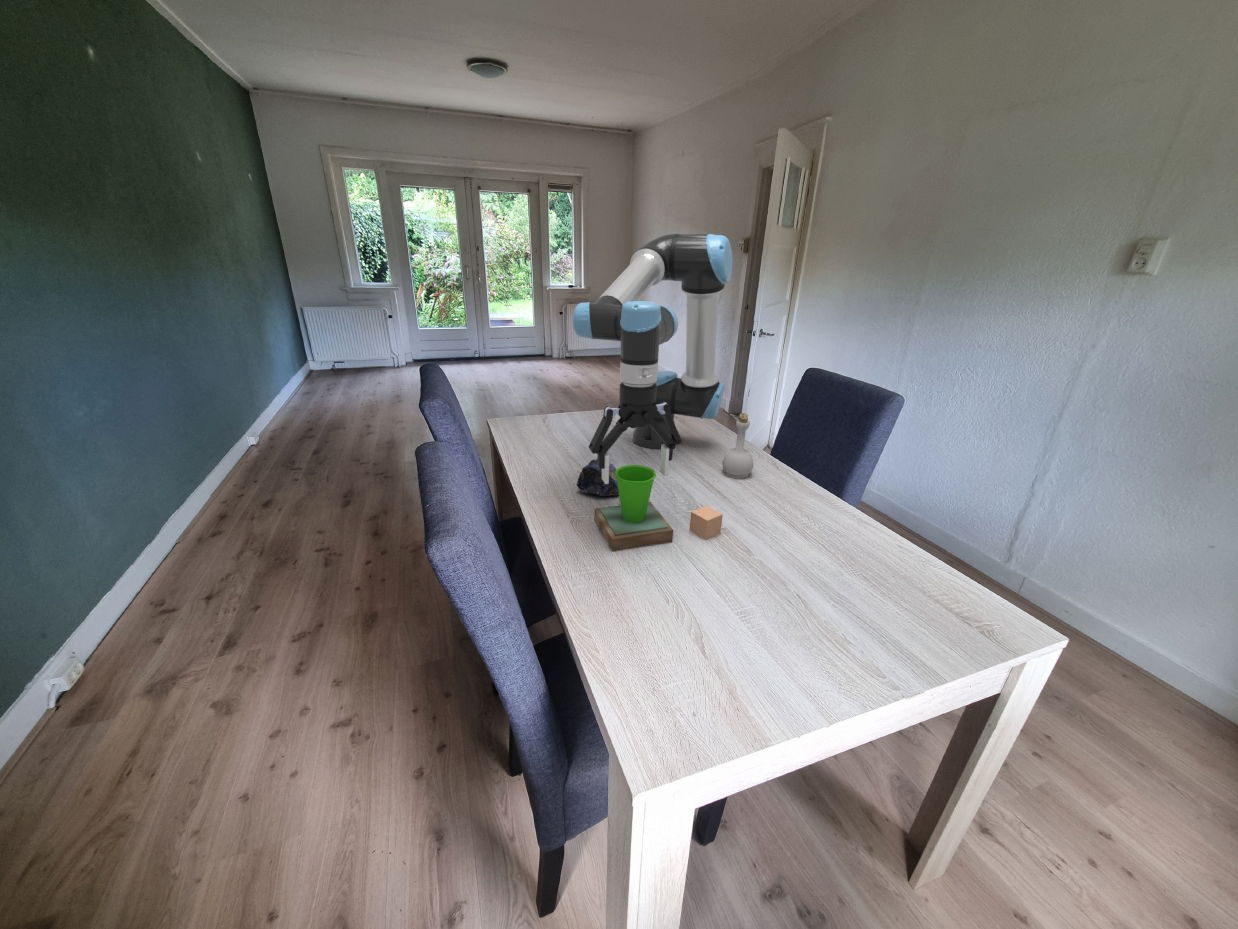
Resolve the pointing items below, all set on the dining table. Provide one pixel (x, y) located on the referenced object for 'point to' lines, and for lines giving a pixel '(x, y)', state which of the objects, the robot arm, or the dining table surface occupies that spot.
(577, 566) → the dining table surface
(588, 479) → the rock
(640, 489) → the cup
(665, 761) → the dining table surface
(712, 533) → the terracotta block
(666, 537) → the tray
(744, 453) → the potion bottle
